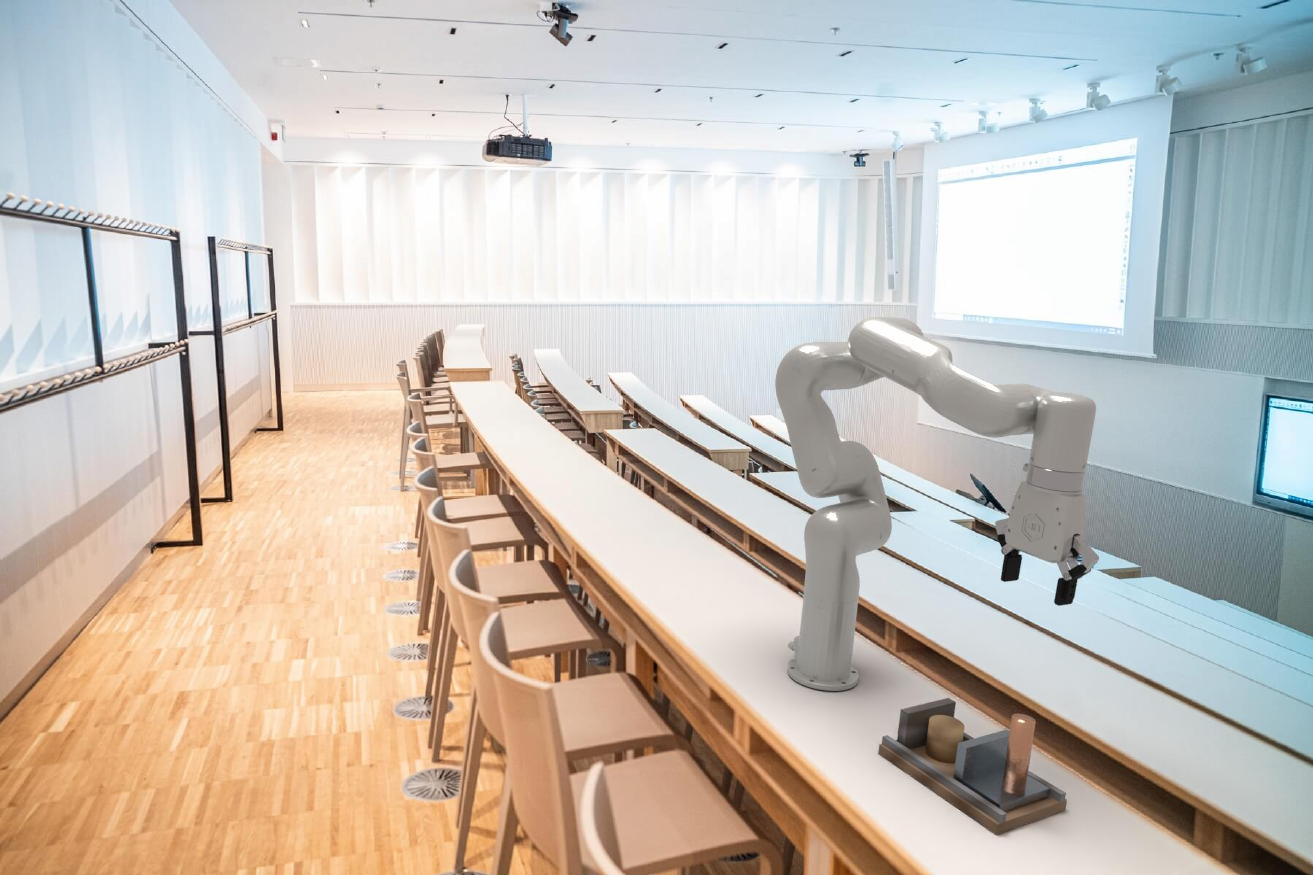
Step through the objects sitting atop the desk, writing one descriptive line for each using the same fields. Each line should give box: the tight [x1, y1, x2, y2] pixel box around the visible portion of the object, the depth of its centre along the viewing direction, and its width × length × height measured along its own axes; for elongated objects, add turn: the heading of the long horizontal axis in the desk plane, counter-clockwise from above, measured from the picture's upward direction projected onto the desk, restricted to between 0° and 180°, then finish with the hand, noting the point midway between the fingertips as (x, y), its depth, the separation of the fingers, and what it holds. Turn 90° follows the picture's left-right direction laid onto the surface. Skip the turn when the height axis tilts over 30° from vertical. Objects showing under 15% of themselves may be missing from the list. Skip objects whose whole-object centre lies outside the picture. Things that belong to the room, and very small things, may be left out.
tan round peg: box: [925, 715, 965, 763], centre depth 135 cm, size 5×5×5 cm
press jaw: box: [953, 713, 1050, 811], centre depth 126 cm, size 8×10×12 cm
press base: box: [877, 697, 1068, 836], centre depth 131 cm, size 22×14×8 cm, turn 30°
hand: (1035, 591), depth 134 cm, fingers open, 9 cm apart
